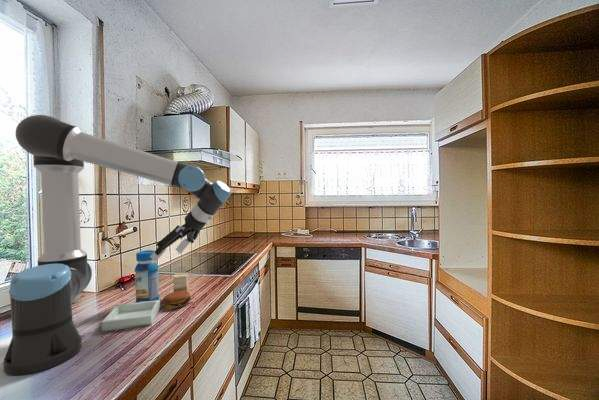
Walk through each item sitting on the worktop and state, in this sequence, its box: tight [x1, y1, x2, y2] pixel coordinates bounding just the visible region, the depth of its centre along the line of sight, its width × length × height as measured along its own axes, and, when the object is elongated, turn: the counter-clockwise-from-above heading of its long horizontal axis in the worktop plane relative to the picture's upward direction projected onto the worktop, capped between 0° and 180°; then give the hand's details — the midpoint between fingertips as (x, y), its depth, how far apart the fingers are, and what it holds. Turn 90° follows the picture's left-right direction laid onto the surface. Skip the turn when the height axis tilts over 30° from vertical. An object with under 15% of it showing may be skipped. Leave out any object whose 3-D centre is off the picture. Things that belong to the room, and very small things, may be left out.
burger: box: [162, 291, 192, 310], centre depth 106 cm, size 10×9×5 cm
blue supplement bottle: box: [134, 249, 160, 303], centre depth 109 cm, size 8×8×20 cm
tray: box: [101, 299, 161, 333], centre depth 95 cm, size 14×14×3 cm
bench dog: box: [172, 271, 189, 293], centre depth 115 cm, size 5×5×9 cm
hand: (166, 255), depth 107 cm, fingers open, 13 cm apart
